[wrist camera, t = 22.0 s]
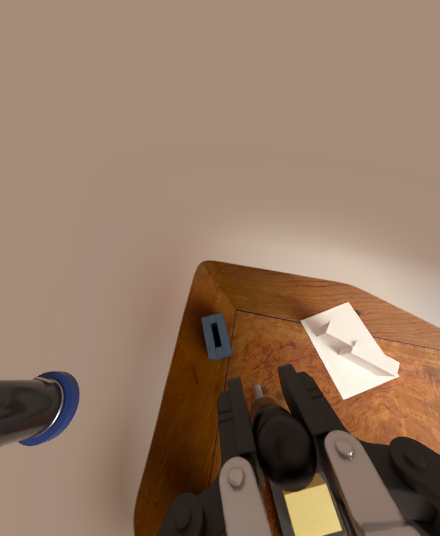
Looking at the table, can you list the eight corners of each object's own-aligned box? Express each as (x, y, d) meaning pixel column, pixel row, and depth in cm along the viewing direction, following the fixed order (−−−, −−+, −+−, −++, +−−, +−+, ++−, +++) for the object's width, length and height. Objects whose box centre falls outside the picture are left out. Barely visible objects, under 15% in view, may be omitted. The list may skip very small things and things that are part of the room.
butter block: (291, 525, 29) (296, 543, 26) (279, 482, 31) (283, 494, 28) (331, 514, 29) (342, 530, 26) (318, 472, 32) (326, 483, 28)
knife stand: (213, 360, 41) (208, 358, 36) (206, 324, 45) (200, 317, 40) (233, 355, 42) (231, 352, 36) (224, 319, 45) (222, 312, 40)
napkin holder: (400, 375, 37) (424, 376, 32) (344, 400, 36) (360, 405, 31) (347, 301, 44) (361, 291, 39) (299, 321, 43) (307, 314, 38)
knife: (252, 420, 23) (277, 550, 6) (243, 383, 24) (243, 404, 8) (272, 415, 23) (351, 530, 6) (261, 379, 24) (301, 389, 8)
